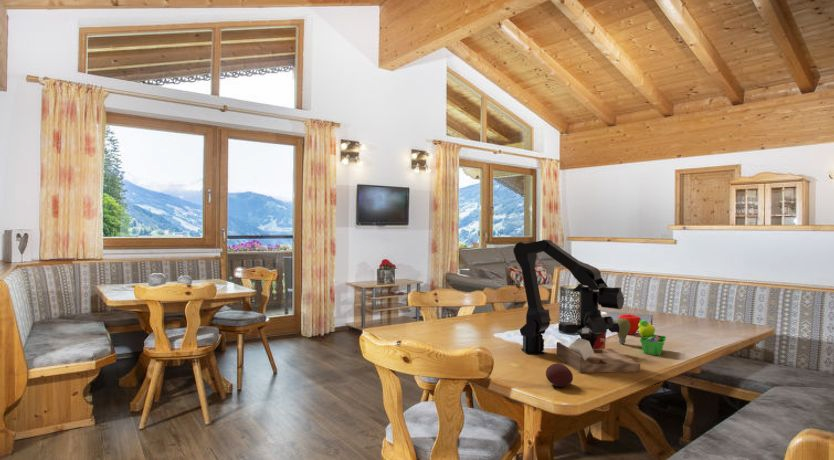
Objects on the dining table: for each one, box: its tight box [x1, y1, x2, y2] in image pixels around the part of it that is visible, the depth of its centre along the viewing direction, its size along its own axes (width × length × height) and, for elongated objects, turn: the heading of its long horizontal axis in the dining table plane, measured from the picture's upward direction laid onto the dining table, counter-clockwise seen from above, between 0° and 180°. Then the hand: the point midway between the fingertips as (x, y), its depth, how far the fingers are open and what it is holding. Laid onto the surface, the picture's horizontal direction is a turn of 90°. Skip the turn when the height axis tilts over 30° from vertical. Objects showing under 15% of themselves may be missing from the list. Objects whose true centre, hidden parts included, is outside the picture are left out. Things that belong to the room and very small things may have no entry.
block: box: [569, 337, 594, 361], centre depth 157 cm, size 4×4×4 cm
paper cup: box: [593, 310, 609, 349], centre depth 176 cm, size 8×8×14 cm
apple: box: [618, 313, 642, 335], centre depth 205 cm, size 9×9×8 cm
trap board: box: [555, 341, 641, 374], centre depth 159 cm, size 20×18×5 cm
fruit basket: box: [638, 319, 667, 356], centre depth 176 cm, size 11×9×11 cm
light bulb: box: [615, 317, 630, 345], centre depth 186 cm, size 6×6×10 cm
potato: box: [545, 362, 574, 388], centre depth 138 cm, size 8×9×6 cm
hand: (589, 353), depth 159 cm, fingers closed
